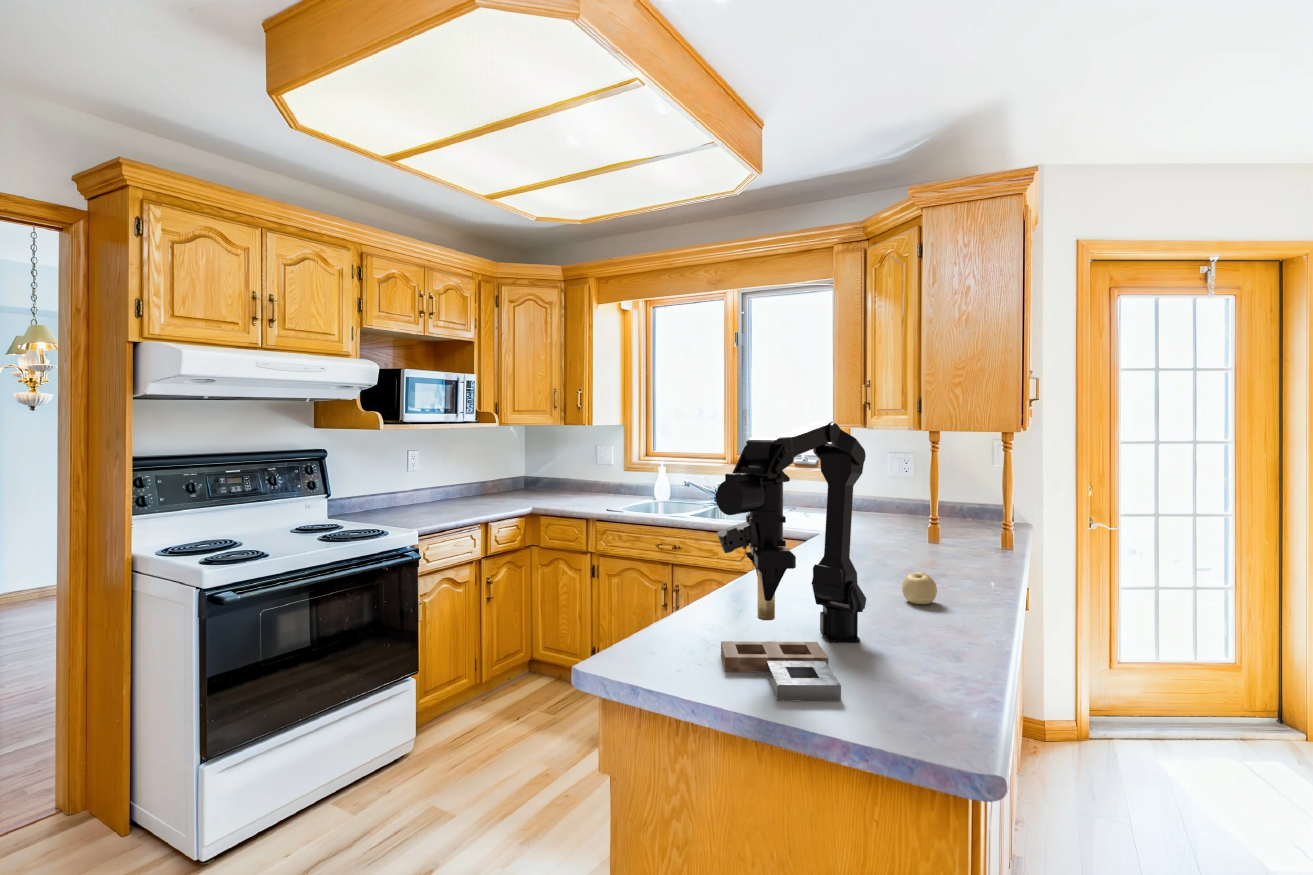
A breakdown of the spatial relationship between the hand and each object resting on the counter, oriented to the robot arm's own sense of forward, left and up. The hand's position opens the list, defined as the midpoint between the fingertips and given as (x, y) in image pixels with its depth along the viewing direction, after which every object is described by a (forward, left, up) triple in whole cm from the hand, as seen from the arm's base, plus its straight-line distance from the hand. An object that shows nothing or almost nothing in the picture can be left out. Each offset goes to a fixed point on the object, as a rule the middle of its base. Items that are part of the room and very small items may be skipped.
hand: (766, 597), depth 112 cm
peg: (0, 0, -4) cm, 4 cm away
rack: (-2, -3, -13) cm, 13 cm away
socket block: (-5, +7, -13) cm, 16 cm away
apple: (-44, -42, -13) cm, 62 cm away
